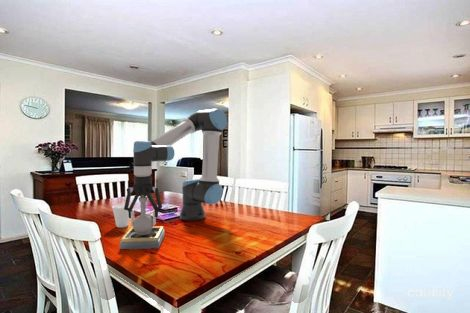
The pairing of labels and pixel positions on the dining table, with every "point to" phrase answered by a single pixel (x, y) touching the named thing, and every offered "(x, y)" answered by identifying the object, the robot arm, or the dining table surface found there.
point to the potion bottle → (143, 219)
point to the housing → (142, 239)
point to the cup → (121, 215)
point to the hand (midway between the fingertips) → (143, 224)
